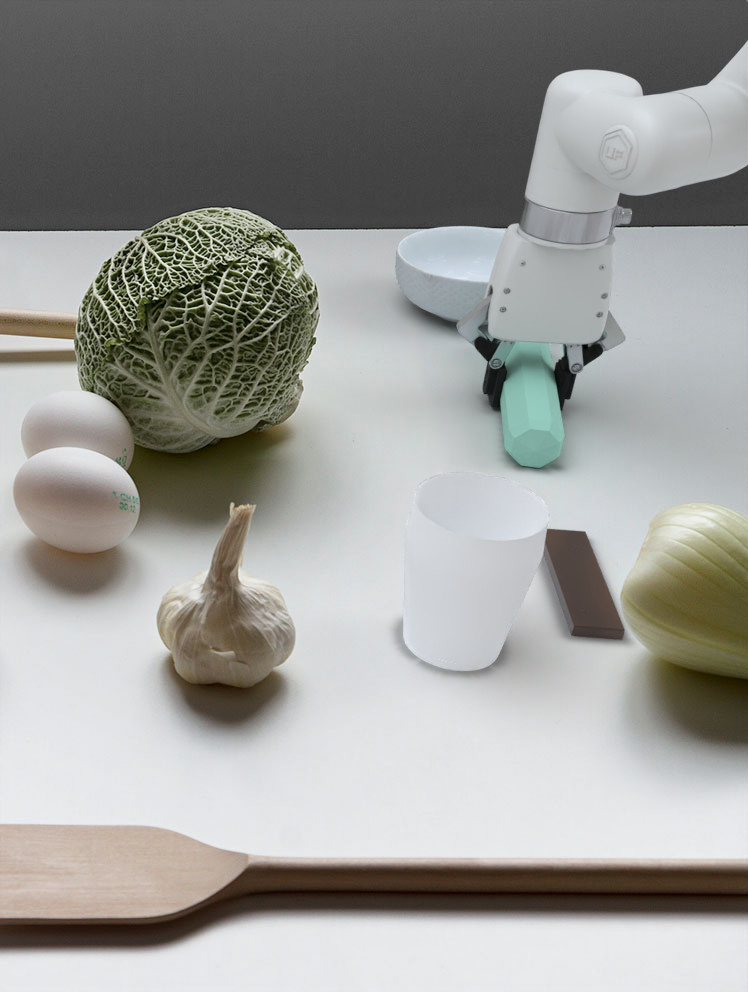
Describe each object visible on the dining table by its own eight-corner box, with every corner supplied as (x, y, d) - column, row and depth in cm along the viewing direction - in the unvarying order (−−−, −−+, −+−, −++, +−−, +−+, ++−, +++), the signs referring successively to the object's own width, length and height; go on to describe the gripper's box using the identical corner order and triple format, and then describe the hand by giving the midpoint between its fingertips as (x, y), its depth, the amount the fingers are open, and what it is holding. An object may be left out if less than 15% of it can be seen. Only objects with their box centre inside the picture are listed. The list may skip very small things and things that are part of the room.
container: (565, 414, 110) (544, 295, 130) (492, 430, 112) (483, 311, 132) (578, 473, 112) (556, 347, 132) (507, 486, 115) (496, 361, 135)
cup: (401, 594, 99) (427, 459, 92) (525, 627, 95) (561, 488, 89) (372, 662, 92) (397, 521, 85) (504, 700, 88) (541, 555, 82)
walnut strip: (582, 543, 104) (585, 530, 104) (621, 643, 93) (625, 630, 93) (536, 539, 105) (540, 527, 104) (570, 639, 94) (574, 625, 93)
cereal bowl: (481, 273, 152) (493, 215, 148) (582, 329, 138) (597, 267, 135) (357, 295, 147) (366, 236, 143) (449, 355, 133) (462, 291, 130)
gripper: (657, 208, 115) (608, 390, 125) (459, 200, 118) (426, 379, 127) (680, 239, 109) (627, 427, 119) (470, 229, 112) (435, 415, 121)
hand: (524, 400), depth 123 cm, fingers closed on container, 5 cm apart
